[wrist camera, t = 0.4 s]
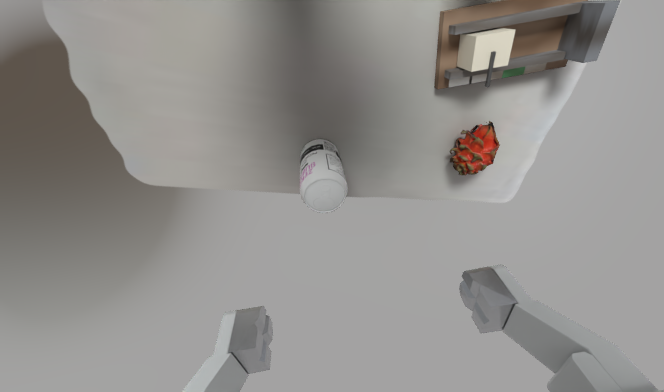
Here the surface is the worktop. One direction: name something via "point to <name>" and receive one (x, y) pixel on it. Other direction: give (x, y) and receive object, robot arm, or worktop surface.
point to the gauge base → (525, 35)
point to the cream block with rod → (485, 50)
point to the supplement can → (322, 176)
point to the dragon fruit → (475, 150)
